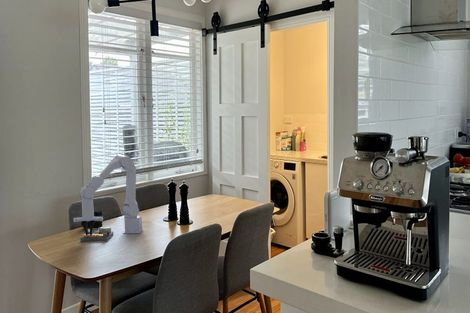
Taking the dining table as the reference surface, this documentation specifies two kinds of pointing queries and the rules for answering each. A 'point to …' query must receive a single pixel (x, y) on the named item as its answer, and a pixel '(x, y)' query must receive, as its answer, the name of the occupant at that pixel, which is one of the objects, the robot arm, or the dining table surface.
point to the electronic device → (98, 223)
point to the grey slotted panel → (94, 239)
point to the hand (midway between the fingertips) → (89, 234)
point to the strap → (94, 235)
